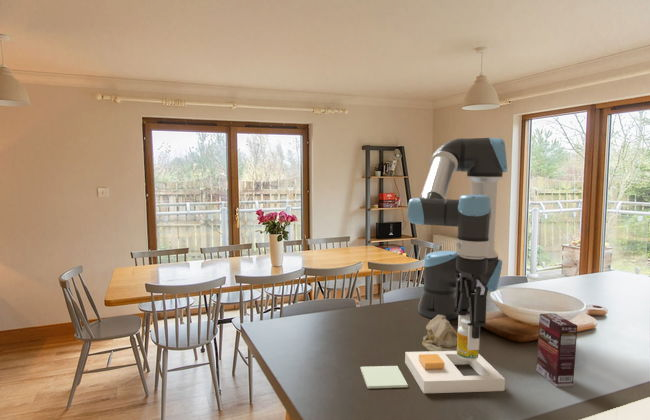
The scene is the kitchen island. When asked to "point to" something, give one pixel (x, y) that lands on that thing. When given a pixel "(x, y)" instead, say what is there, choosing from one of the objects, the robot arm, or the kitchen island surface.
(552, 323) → the supplement box
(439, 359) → the orange sticky note pad
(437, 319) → the ceramic model
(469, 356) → the supplement bottle
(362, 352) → the kitchen island surface
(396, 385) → the mat
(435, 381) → the frame
